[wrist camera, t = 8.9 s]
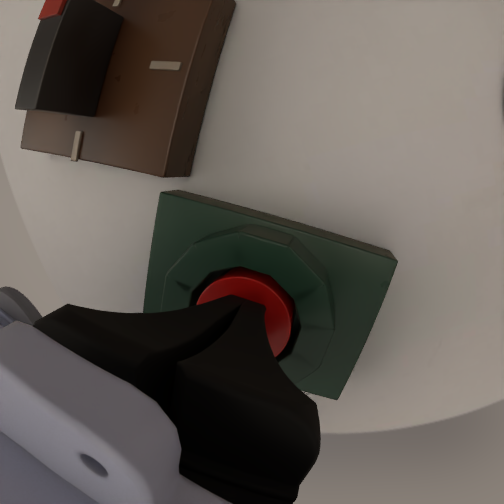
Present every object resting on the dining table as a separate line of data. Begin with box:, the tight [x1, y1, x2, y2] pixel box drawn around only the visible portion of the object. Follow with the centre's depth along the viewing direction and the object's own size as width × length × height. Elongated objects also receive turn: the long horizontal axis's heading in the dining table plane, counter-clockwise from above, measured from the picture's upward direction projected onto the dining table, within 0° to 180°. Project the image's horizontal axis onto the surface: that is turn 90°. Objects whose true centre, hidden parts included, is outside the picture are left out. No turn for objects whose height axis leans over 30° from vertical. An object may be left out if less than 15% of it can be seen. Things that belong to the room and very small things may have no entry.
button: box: [197, 266, 296, 357], centre depth 12 cm, size 4×4×2 cm
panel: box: [21, 0, 236, 178], centre depth 13 cm, size 10×9×3 cm
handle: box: [15, 0, 123, 117], centre depth 10 cm, size 5×2×4 cm, turn 166°
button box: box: [143, 190, 398, 400], centre depth 13 cm, size 10×7×4 cm
